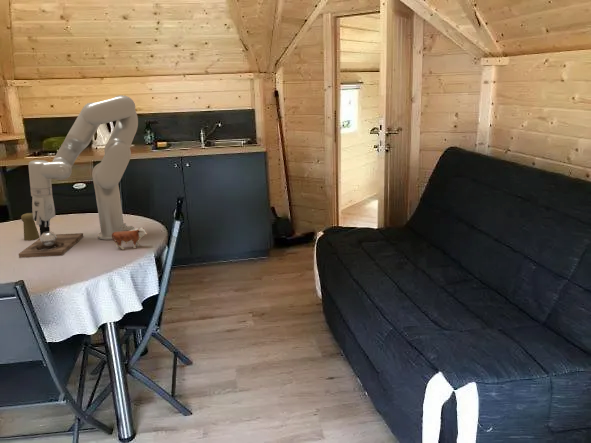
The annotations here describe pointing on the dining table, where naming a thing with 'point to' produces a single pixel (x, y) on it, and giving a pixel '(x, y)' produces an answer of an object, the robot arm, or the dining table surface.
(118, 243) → the bull figurine
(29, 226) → the cork
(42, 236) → the ball
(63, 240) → the board
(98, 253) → the dining table surface
